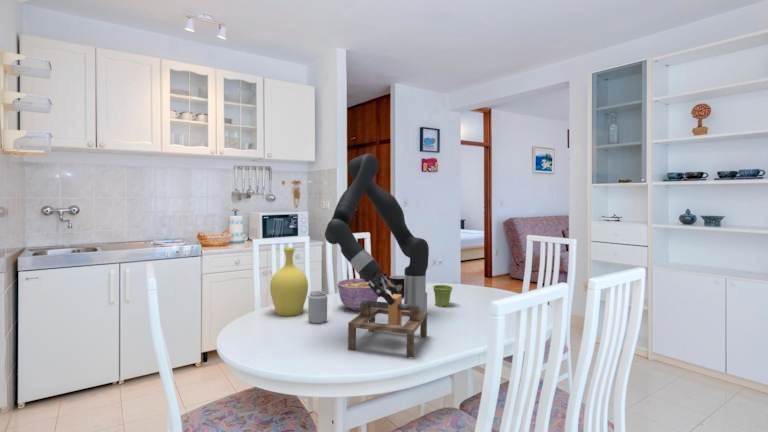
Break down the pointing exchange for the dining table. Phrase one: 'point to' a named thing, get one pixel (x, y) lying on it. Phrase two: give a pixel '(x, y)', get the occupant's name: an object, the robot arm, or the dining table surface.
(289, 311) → the vase
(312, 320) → the can
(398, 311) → the orange two-legged bench
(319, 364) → the dining table surface
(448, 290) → the plant pot
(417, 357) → the dining table surface
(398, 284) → the coffee mug
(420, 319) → the wooden slider frame
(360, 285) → the bowl of food
